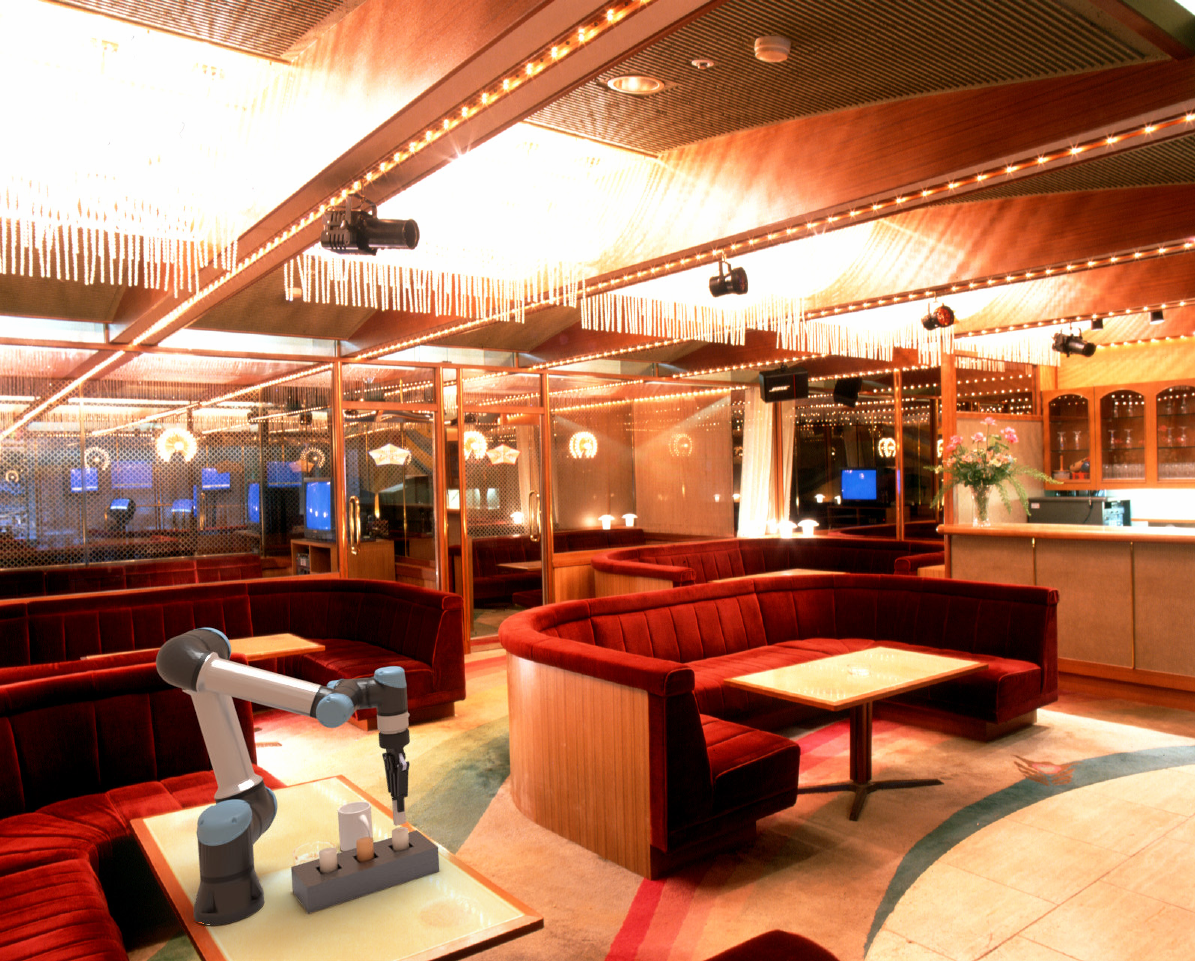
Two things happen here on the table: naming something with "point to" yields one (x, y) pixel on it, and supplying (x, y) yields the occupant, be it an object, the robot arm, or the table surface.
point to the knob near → (328, 860)
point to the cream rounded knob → (400, 839)
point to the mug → (354, 823)
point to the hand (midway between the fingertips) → (399, 823)
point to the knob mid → (365, 849)
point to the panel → (363, 873)
